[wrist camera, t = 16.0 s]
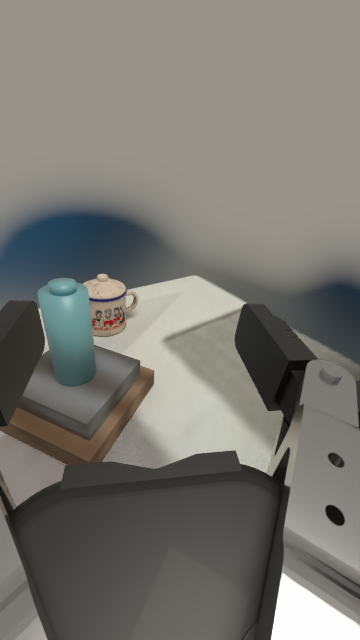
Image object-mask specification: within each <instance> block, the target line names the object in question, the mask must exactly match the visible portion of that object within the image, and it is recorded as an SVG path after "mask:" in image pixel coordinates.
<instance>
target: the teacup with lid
mask: <svg viewBox="0 0 360 640" xmlns="http://www.w3.org/2000/svg"><path fill="white" fill-rule="evenodd" d="M83 285H85V286H86V287H87V288H88V294H89V303H90V312H91V322H92V331H93V335H96V336H111V335H115V334H118V333H120V332H121V331H122V330H123V329H124V328H125V326H126V313H128V312H130V311H132V310H133V309H134V308H135V307H136V305H137V303H138V296H137V294H136V293H135V292H133V291H127V290H126V287H125V286H124V284H123V283H121V282H119V281H117V280H113V279H109V278H108V276H107V275H106V274H99V275H98V276H97V278H96V279H94V280H90V281H87V282H85V283H83ZM127 295H133V296H134V300H133V303H132V304H131V306H130V307H128V308H126V297H125V296H127Z"/></svg>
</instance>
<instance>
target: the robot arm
mask: <svg viewBox="0 0 360 640" xmlns="http://www.w3.org/2000/svg"><path fill="white" fill-rule="evenodd" d="M44 346H45V337H44V332H43V328H42V324H41V319H40V315H39V311H38V307H37V304H36V303H35V302H34V301H20V300H19V301H18V300H11V301H9V302H8V303H7V304H6V305H5V306H4V307H3V309H2V310H1V311H0V427H5V426H8V425H9V422H10V420H11V418H12V416H13V414H14V412H15V410H16V408H17V406H18V404H19V401H20V399H21V397H22V395H23V393H24V391H25V389H26V387H27V385H28V383H29V380H30V378H31V376H32V374H33V372H34V370H35V368H36V366H37V364H38V362H39V359H40V357H41V355H42V353H43V351H44ZM235 346H236V349H237V351H238V353H239V355H240V357H241V359H242V361H243V363H244V365H245V367H246V369H247V370H248V372H249V374H250V376H251V378H252V380H253V382H254V384H255V386H256V388H257V390H258V392H259V394H260V396H261V398H262V400H263V402H264V404H265V406H266V408H267V410H268V411H277V410H281V411H282V413H283V417H282V419H281V421H280V425H279V429H278V433H277V437H276V441H275V445H274V449H273V453H272V457H271V461H270V464H269V467H268V470H267V473H264V472H262V471H260V470H258V469H256V468H253V467H250V466H247V465H243V464H240V463H239V460H238V457H237V454H236V451H224V452H213V453H202V454H195V455H193V456H190V457H187V458H185V459H182V460H180V461H177V462H174V463H172V464H169V465H166V466H164V467H161V468H158V469H150V468H145V467H139V466H133V465H128V464H122V463H116V462H100V463H89V464H77V465H66V466H65V469H64V473H63V478H62V481H60V482H57V483H55V484H53V485H51V486H48V487H46V488H44V489H42V490H41V491H39V492H37V493H36V494H34V495H32V496H31V497H29V498H28V499H27V500H25V501H24V502H23V503H21V504H20V505H19V506H17V507H16V505H15V503H14V501H13V499H12V497H11V495H10V493H9V490H8V488H7V486H6V483H5V481H4V478H3V476H2V473H1V471H0V640H360V381H355V379H354V378H353V376H352V375H351V374H350V373H349V372H348V371H347V370H345V369H344V368H343V367H341V366H339V365H337V364H335V363H333V362H330V361H326V360H318V359H317V357H316V356H315V355H314V354H313V353H312V352H311V351H310V350H309V348H308V347H307V346H306V345H305V344H304V343H303V342H302V341H301V339H300V338H298V336H297V335H296V334H295V333H294V332H292V329H291V328H290V327H289V326H288V325H287V324H286V322H284V321H282V320H281V319H279V318H278V317H276V316H273V315H272V313H271V312H270V311H269V310H268V309H267V307H266V306H265V305H264V304H244V305H243V307H242V310H241V314H240V318H239V321H238V325H237V329H236V333H235Z"/></svg>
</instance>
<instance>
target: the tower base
mask: <svg viewBox="0 0 360 640" xmlns="http://www.w3.org/2000/svg"><path fill="white" fill-rule="evenodd" d="M94 350H95V360H96V369H97V370H96V374H95V376H94V377H93V378H92V379H91V380H90V381H88V382H86V383H84V384H81V385H77V386H65V385H62V384H60V383H59V382H57V380H56V378H55V373H54V368H53V364H52V359H51V355H50V350H49V351H47V352H46V353H44V354H43V355H42V356H41V357H40V359H39V362H38V364H37V366H36V368H35V370H34V372H33V374H32V376H31V378H30V380H29V383H28V385H27V387H26V389H25V391H24V393H23V395H22V397H21V399H20V401H19V404H18V406H17V408H16V410H15V412H14V414H13V416H12V418H11V420H10V422H9V425H8V426H5V427H0V431H2V432H4V433H6V434H8V435H10V436H12V437H14V438H16V439H18V440H20V441H22V442H24V443H26V444H28V445H30V446H32V447H34V448H36V449H38V450H40V451H42V452H44V453H46V454H48V455H50V456H52V457H54V458H56V459H58V460H60V461H62V462H64V463H65V464H67V465H77V464H89V463H100V462H102V460H103V459H104V457H105V456H106V454H107V453H108V451H109V450H110V448H111V447H112V445H113V444H114V442H115V441H116V439H117V438H118V436H119V435H120V433H121V432H122V430H123V429H124V427H125V426H126V424H127V423H128V421H129V420H130V419H131V417H132V416H133V414H134V413H135V411H136V410H137V408H138V407H139V405H140V404H141V402H142V401H143V399H144V398H145V396H146V395H147V393H148V392H149V390H150V389H151V387H152V386H153V384H154V370H151V369H148V368H145V367H142V366H140V361H139V360H136V359H133V358H131V357H128V356H125V355H122V354H119V353H116V352H113V351H110V350H107V349H105V348H102V347H99V346H96V345H94Z"/></svg>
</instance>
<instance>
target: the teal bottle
mask: <svg viewBox="0 0 360 640" xmlns="http://www.w3.org/2000/svg"><path fill="white" fill-rule="evenodd" d="M37 294H38V299H39V303H40V308H41V313H42V318H43V322H44V327H45V331H46V336H47V341H48V345H49V350H50V355H51V359H52V364H53V368H54V373H55V378H56V380H57V382H59V383H60V384H62V385H65V386H77V385H81V384H84V383H86V382H88V381H90V380H91V379H92V378H93V377H94V376H95V374H96V370H97V369H96V360H95V350H94V341H93V331H92V322H91V312H90V303H89V294H88V288H87V287H86V286H85V285H83V284H80V283H76V281H75V280H74V279H71V278H57V279H54V280H51V281H49V283H48V285H47V286H44V287H42V288H41V289H39V291H38V293H37Z"/></svg>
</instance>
